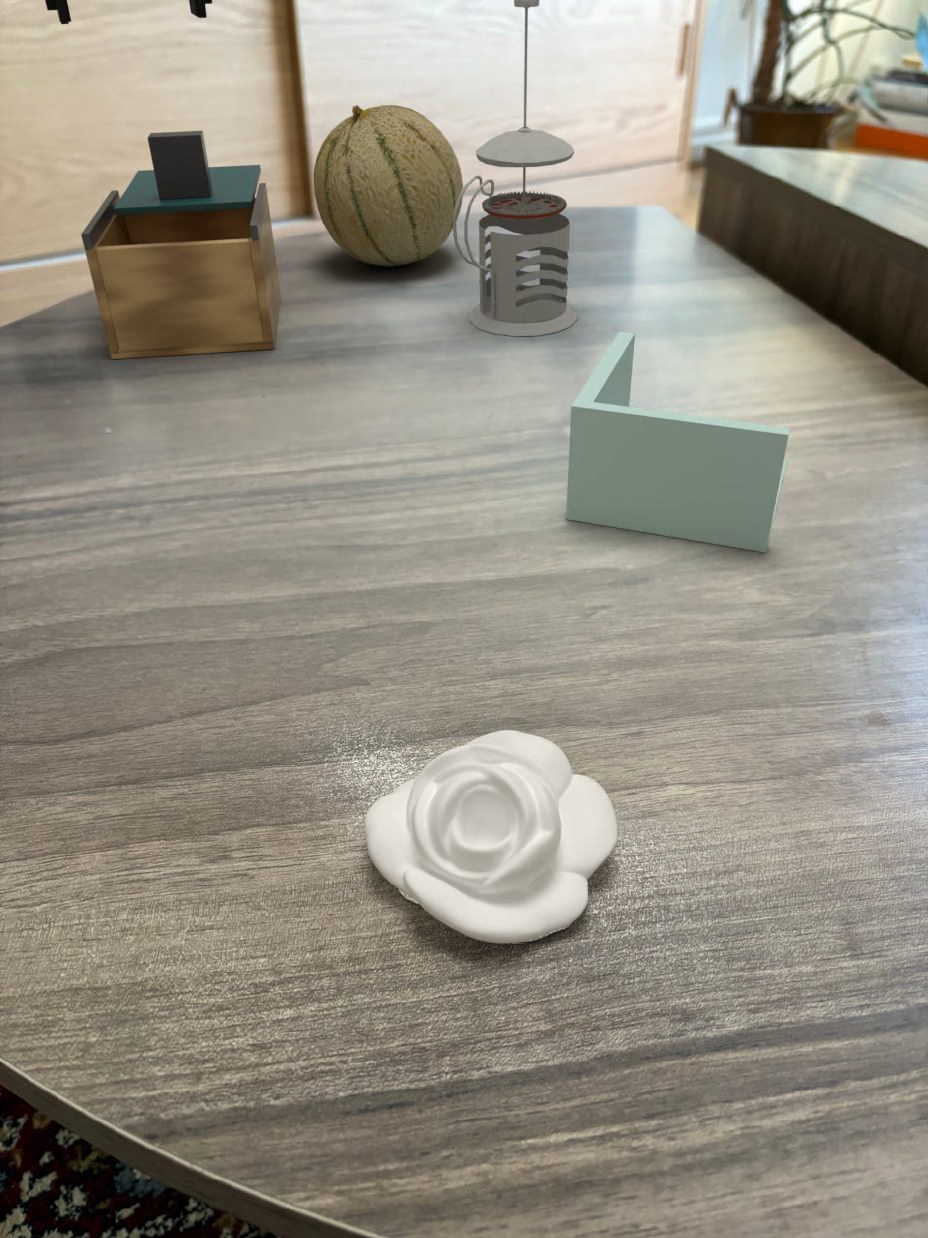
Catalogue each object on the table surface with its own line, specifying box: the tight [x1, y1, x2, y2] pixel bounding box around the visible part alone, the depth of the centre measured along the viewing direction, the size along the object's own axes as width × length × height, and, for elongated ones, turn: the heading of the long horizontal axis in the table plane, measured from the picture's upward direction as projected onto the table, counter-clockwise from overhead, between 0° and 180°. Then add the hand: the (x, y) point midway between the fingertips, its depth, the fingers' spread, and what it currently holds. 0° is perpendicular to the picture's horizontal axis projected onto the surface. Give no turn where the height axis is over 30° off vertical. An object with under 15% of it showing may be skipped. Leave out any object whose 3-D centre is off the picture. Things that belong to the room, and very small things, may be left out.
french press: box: [452, 0, 578, 337], centre depth 82 cm, size 10×12×25 cm
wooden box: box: [80, 182, 282, 360], centre depth 86 cm, size 14×14×10 cm
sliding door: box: [114, 130, 262, 215], centre depth 89 cm, size 12×14×6 cm
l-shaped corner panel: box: [565, 331, 791, 553], centre depth 62 cm, size 12×12×8 cm
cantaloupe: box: [313, 104, 464, 267], centre depth 98 cm, size 15×15×15 cm
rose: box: [364, 729, 618, 944], centre depth 39 cm, size 10×4×10 cm
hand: (133, 18), depth 74 cm, fingers open, 9 cm apart
